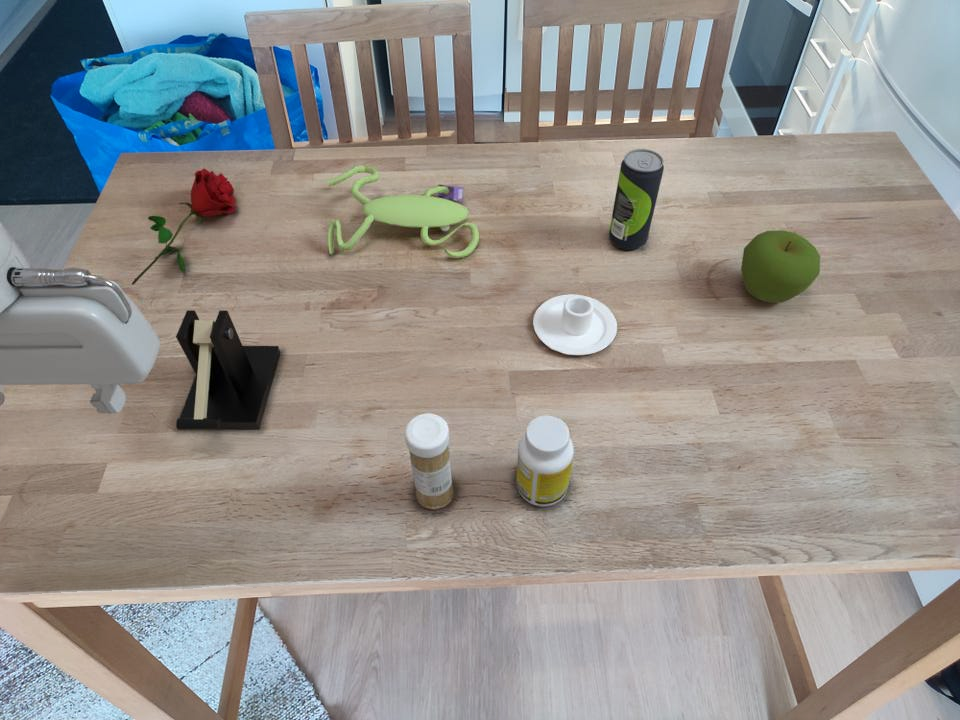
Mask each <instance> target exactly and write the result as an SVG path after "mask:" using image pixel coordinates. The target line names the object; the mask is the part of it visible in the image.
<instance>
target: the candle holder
mask: <svg viewBox="0 0 960 720" xmlns="http://www.w3.org/2000/svg"><path fill="white" fill-rule="evenodd" d="M532 320H533V321H532V324H533V329H534V332H535V334H536V335H537V337H538V339H539V340H540V341H541V342H542V343H543V344H544V345H545V346H547V347H548V348H549V349H551V350H552V351H556V352H559V353H562V354H564V355H569V356H570V355H572V356H585V355H591V354H596V353H598V352H600V351H602V350H603V349H605V348H607V347H608V346H609V345H611V343H612V342H613V341H614V340H615V338H616V335H617V332H618V323H617V320H616V316H615V315H614V313H613V312H612V310H611V309H610V308H609V307H608V306H606V304H604V302H601V301H600V300H598V299H595V298H594V297H591V296H587V295H582V294H574V293H573V294H572V293H571V294H561V295H557V296H554V297H551V298H549V299H547V300H545V301H544V302H542V303H541V304H540V305H539V307H538V308H537V309H536V311H535V312H534V315H533V318H532Z"/></svg>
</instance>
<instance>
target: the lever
mask: <svg viewBox="0 0 960 720" xmlns="http://www.w3.org/2000/svg"><path fill="white" fill-rule="evenodd" d="M215 321H216V320H212V319H199V320H195V322H194V334H193V343H195V344H197V345H199V346H200V349H199V361H198V374H197V386H196V398H195V410H194V418H180V417H178V418H177V419H176V422H175V427H176V429H177V430H178V431H221V430H223V429H222V426H223V421H222V419H221V418H206V416H207V403H208V390H209V378H210V365H211V352H212V347H214V345H213V343H212V341H211V339H210V334H211V332H212V329H213V327H214V324H215Z"/></svg>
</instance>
